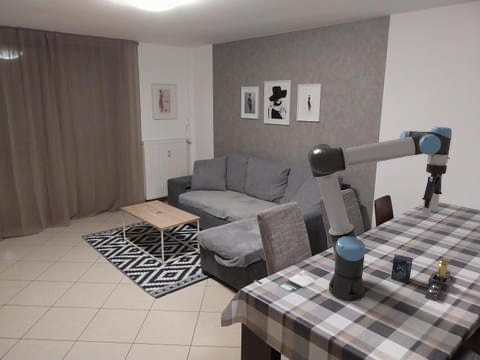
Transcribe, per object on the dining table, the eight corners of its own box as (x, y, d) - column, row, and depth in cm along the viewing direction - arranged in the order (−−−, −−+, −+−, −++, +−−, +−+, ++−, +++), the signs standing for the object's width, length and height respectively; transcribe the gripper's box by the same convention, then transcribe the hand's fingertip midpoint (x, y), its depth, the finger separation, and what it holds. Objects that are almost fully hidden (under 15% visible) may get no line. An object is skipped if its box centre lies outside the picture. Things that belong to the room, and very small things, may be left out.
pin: (443, 288, 155) (447, 264, 153) (433, 285, 158) (438, 261, 155) (444, 285, 158) (449, 261, 155) (435, 282, 161) (439, 258, 158)
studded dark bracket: (440, 302, 144) (441, 295, 143) (420, 296, 149) (421, 288, 148) (454, 277, 166) (455, 270, 165) (437, 272, 170) (438, 266, 170)
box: (390, 278, 163) (393, 258, 161) (392, 273, 168) (394, 253, 166) (409, 283, 160) (412, 262, 157) (410, 278, 164) (412, 257, 162)
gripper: (440, 168, 136) (432, 220, 140) (453, 161, 154) (446, 207, 159) (419, 166, 141) (412, 216, 145) (434, 159, 159) (428, 203, 164)
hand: (430, 211), depth 152 cm, fingers open, 13 cm apart
